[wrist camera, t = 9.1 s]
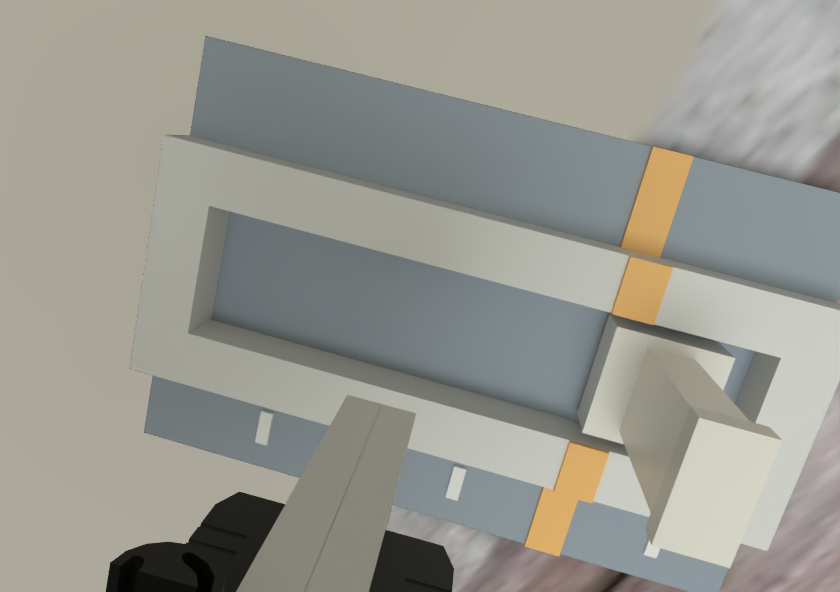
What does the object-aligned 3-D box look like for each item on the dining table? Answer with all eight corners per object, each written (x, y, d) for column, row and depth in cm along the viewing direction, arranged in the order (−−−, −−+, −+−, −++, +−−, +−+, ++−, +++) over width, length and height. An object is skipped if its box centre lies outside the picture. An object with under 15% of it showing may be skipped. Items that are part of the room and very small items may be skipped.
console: (701, 568, 28) (733, 638, 24) (167, 414, 30) (114, 456, 26) (849, 198, 25) (916, 208, 21) (227, 43, 26) (176, 25, 22)
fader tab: (681, 442, 25) (767, 586, 17) (577, 413, 25) (609, 540, 17) (719, 342, 24) (828, 444, 16) (609, 313, 24) (661, 398, 16)
